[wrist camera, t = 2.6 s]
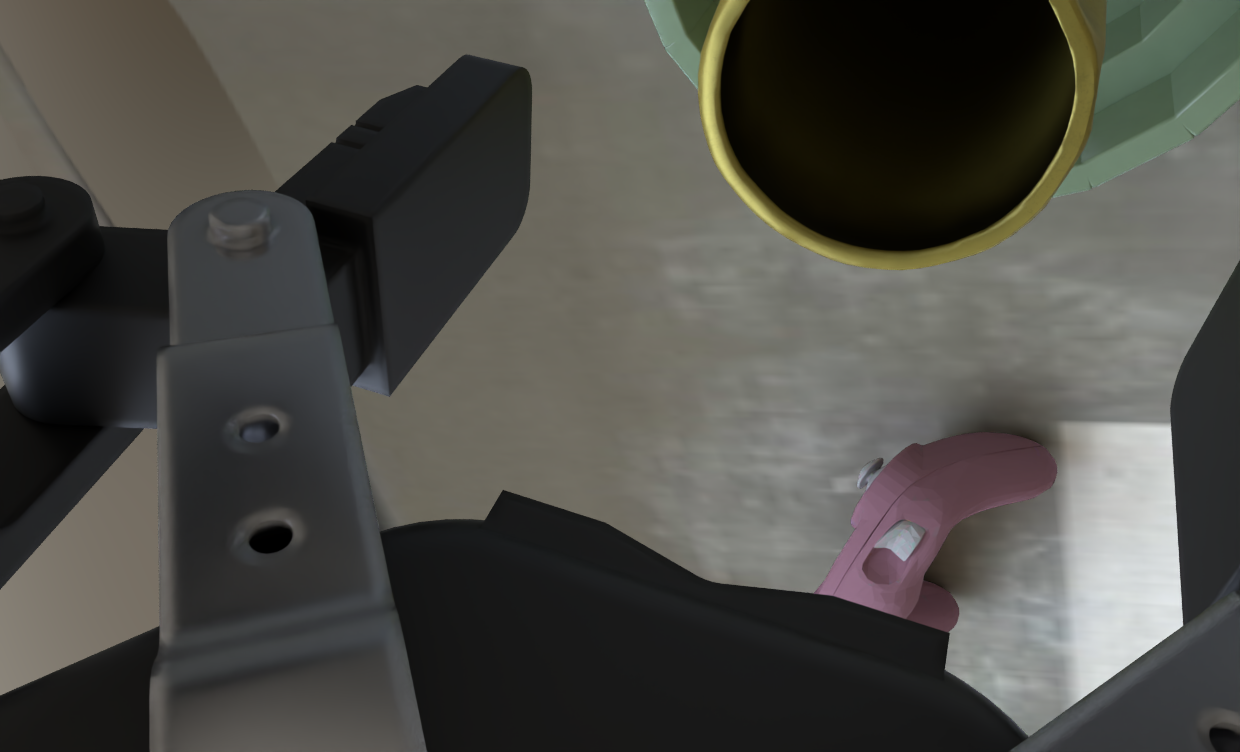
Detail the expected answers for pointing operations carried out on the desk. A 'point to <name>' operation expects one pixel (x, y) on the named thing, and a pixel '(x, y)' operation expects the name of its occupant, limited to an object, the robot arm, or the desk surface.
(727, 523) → the desk surface
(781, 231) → the vase
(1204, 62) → the bowl
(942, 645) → the robot arm
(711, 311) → the desk surface
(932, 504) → the video game controller
